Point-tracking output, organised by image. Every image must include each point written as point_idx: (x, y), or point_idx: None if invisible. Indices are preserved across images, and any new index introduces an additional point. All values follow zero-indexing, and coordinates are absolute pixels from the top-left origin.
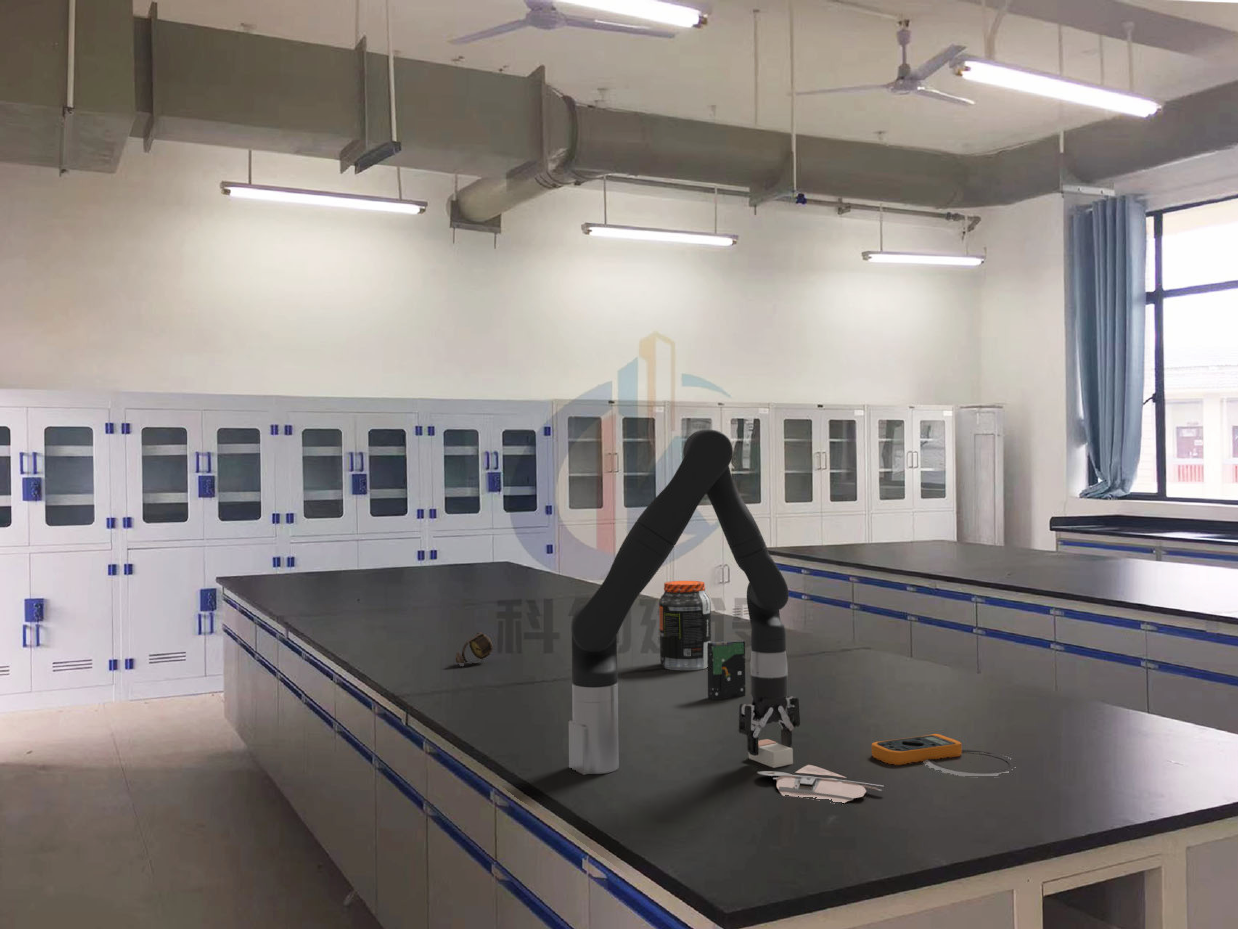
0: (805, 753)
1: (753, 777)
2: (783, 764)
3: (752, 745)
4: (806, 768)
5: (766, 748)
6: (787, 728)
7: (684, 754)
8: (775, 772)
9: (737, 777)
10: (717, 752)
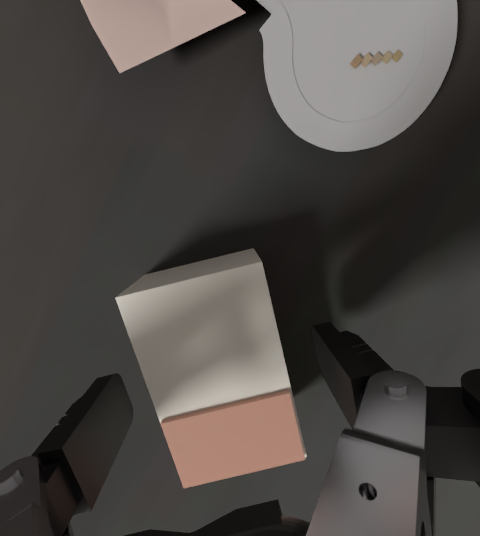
0: (26, 401)
1: (402, 156)
2: (197, 263)
3: (367, 353)
4: (156, 24)
5: (263, 347)
6: (45, 483)
7: (475, 510)
8: (317, 110)
9: (465, 182)
10: None
